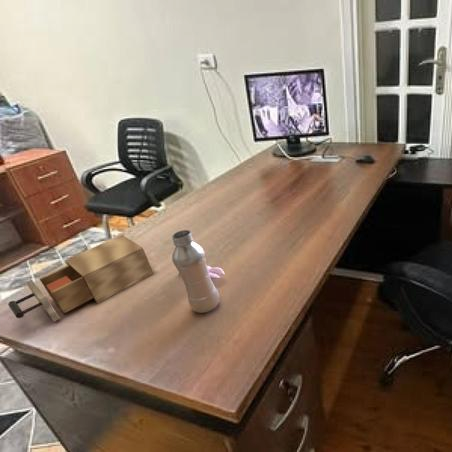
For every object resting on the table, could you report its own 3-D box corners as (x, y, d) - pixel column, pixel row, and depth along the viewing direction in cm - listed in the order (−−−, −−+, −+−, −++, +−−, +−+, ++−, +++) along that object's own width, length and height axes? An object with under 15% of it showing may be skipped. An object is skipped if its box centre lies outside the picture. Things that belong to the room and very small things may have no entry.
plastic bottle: (223, 309, 81) (200, 236, 71) (193, 320, 79) (165, 246, 69) (218, 294, 86) (196, 223, 76) (190, 304, 84) (163, 232, 74)
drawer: (28, 335, 78) (12, 312, 75) (15, 315, 84) (0, 293, 81) (114, 289, 90) (103, 268, 87) (96, 275, 97) (86, 255, 93)
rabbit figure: (177, 283, 94) (215, 289, 86) (167, 264, 91) (206, 269, 84) (194, 270, 99) (232, 274, 91) (186, 252, 96) (224, 255, 89)
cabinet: (97, 303, 87) (82, 276, 83) (79, 286, 94) (64, 260, 90) (153, 273, 97) (142, 247, 93) (133, 259, 104) (122, 234, 100)
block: (60, 305, 84) (51, 291, 82) (54, 299, 87) (45, 285, 85) (80, 295, 87) (72, 281, 85) (74, 289, 90) (66, 275, 88)
